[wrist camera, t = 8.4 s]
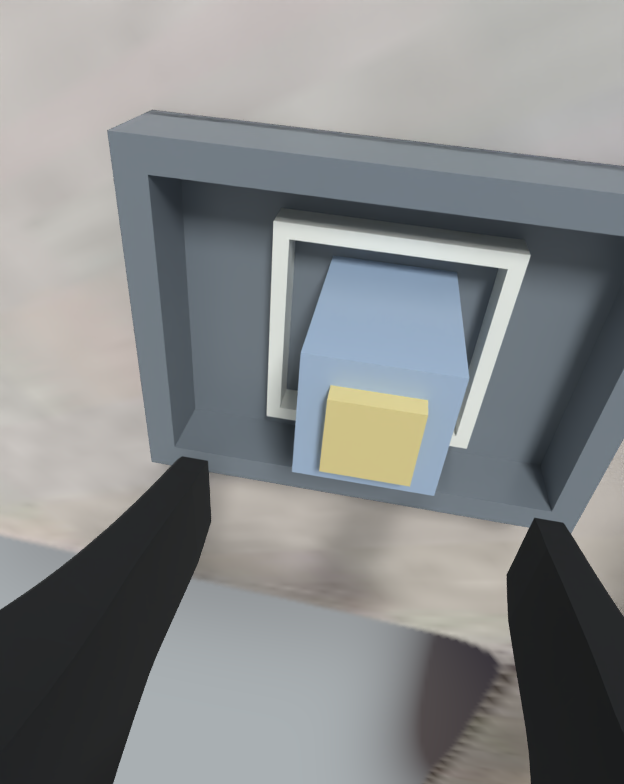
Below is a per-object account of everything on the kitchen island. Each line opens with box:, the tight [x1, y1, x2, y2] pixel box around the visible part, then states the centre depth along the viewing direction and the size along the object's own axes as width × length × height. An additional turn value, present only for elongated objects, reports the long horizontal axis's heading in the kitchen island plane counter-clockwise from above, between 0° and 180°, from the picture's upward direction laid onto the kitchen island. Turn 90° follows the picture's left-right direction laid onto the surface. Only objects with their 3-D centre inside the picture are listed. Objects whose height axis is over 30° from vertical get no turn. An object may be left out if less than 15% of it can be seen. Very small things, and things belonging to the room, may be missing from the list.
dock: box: [107, 110, 624, 533], centre depth 19 cm, size 16×12×3 cm
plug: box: [292, 256, 469, 496], centre depth 16 cm, size 4×4×7 cm
